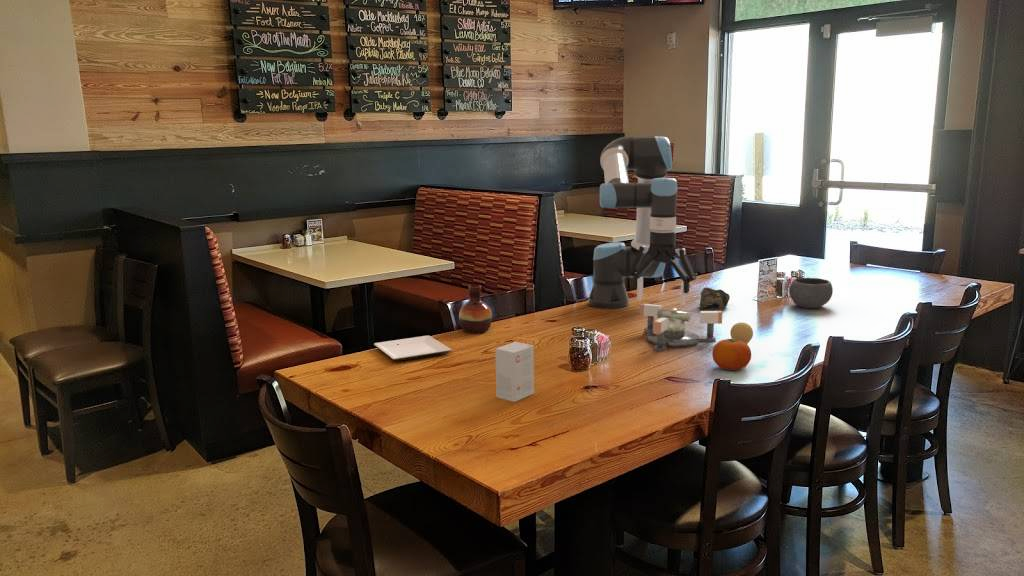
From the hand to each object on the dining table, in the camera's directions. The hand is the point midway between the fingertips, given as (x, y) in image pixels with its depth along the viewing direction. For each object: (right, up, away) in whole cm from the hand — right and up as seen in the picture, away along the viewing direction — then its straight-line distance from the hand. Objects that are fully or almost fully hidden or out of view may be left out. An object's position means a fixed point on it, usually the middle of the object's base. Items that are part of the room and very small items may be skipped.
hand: (661, 301), depth 233 cm
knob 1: (+1, -9, +23) cm, 25 cm away
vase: (-57, -10, +28) cm, 65 cm away
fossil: (+30, -3, +56) cm, 64 cm away
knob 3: (+18, -11, +12) cm, 24 cm away
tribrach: (+5, -13, +11) cm, 18 cm away
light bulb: (+23, -16, -4) cm, 28 cm away
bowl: (+65, -3, +54) cm, 85 cm away
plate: (-75, -16, +5) cm, 77 cm away
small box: (-44, -24, -35) cm, 61 cm away
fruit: (+17, -19, -15) cm, 29 cm away
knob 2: (0, -13, +3) cm, 14 cm away
